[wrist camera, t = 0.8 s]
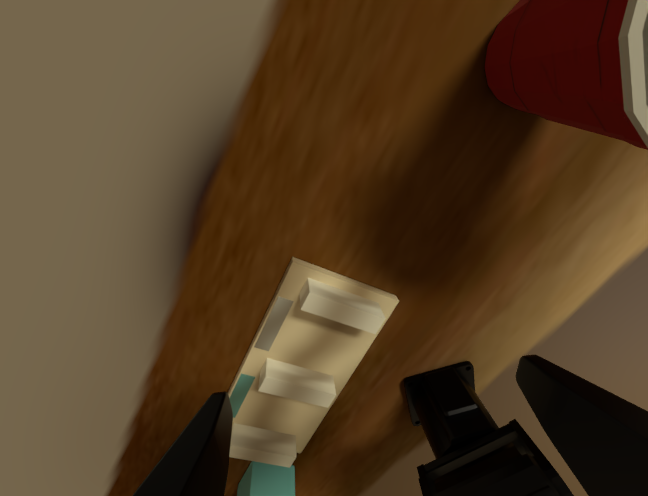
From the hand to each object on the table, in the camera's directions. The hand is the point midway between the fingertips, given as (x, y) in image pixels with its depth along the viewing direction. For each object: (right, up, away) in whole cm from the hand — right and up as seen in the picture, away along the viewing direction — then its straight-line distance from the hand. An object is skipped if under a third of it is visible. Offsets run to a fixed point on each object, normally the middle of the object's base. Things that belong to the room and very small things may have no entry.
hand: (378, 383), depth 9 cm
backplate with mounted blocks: (-4, -6, +17) cm, 19 cm away
